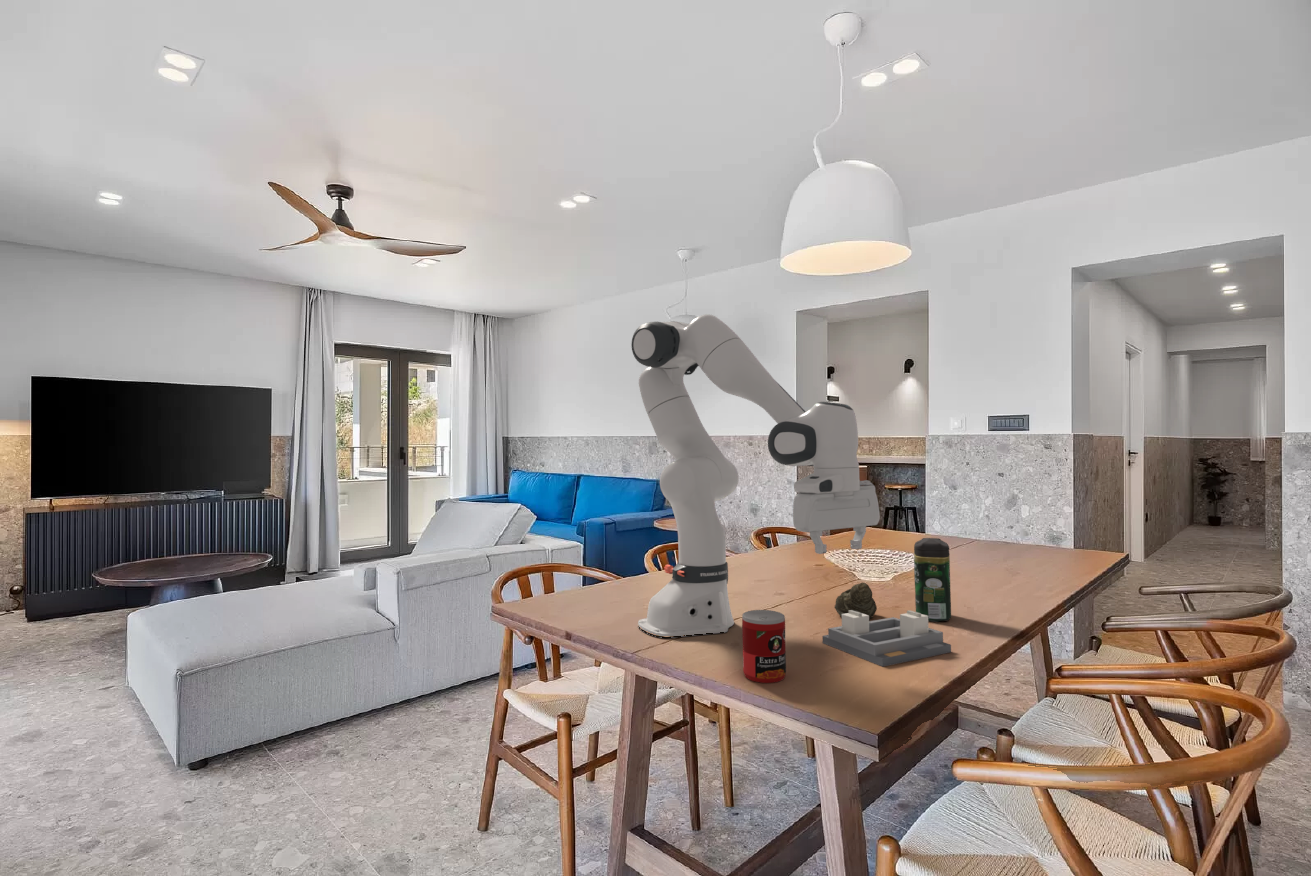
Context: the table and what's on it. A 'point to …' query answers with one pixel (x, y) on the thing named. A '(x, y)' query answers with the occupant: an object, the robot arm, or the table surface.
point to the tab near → (913, 624)
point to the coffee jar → (932, 579)
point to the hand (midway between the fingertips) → (838, 551)
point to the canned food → (764, 646)
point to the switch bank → (887, 643)
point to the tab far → (855, 622)
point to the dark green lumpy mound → (856, 600)
